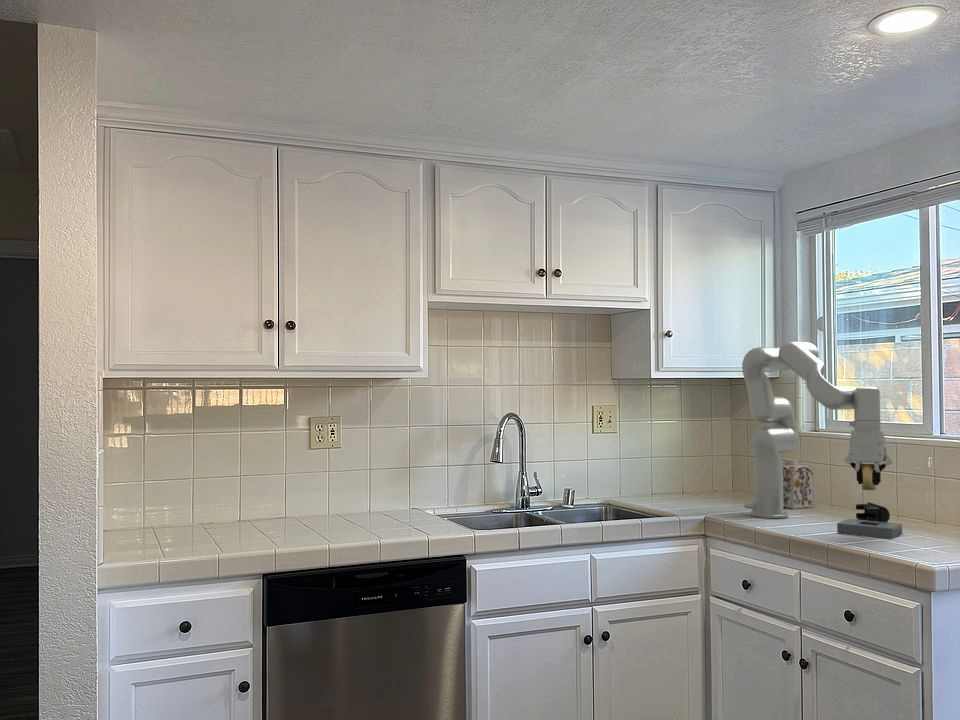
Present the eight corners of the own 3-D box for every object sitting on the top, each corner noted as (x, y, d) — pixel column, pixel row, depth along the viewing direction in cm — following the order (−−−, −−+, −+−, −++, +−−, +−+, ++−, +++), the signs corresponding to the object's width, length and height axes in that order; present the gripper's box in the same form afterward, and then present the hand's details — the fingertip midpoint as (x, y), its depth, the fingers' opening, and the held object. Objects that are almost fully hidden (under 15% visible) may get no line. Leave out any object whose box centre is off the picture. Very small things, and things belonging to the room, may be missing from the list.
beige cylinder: (860, 489, 264) (859, 464, 264) (863, 488, 267) (863, 463, 267) (873, 490, 261) (873, 464, 261) (877, 489, 264) (876, 463, 265)
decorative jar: (769, 505, 324) (768, 458, 325) (790, 503, 330) (790, 457, 330) (793, 509, 314) (792, 461, 314) (815, 507, 319) (814, 460, 319)
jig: (837, 532, 264) (837, 523, 264) (848, 527, 273) (848, 518, 273) (892, 538, 254) (892, 528, 254) (902, 533, 263) (902, 523, 263)
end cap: (890, 527, 276) (890, 506, 276) (868, 526, 276) (868, 506, 276) (876, 522, 286) (876, 502, 286) (855, 521, 286) (855, 501, 286)
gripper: (836, 425, 267) (837, 483, 266) (893, 427, 257) (894, 487, 256) (843, 425, 273) (844, 481, 272) (899, 426, 262) (900, 485, 262)
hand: (868, 483), depth 264 cm, fingers closed on beige cylinder, 4 cm apart
